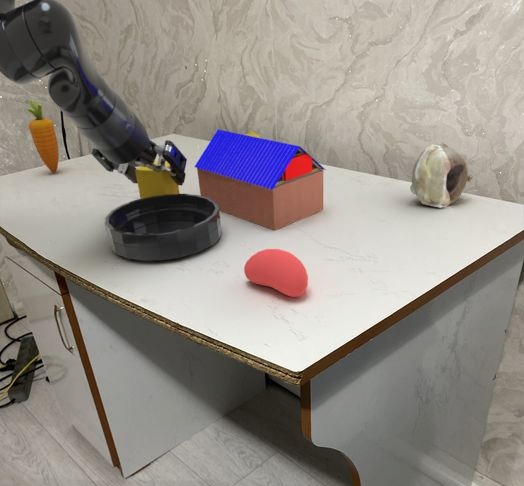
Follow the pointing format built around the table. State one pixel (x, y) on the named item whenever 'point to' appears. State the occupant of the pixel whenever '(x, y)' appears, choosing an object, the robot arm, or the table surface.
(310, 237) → the table surface
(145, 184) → the sponge
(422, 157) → the sea shell
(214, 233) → the bowl
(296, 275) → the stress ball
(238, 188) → the house
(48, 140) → the carrot
